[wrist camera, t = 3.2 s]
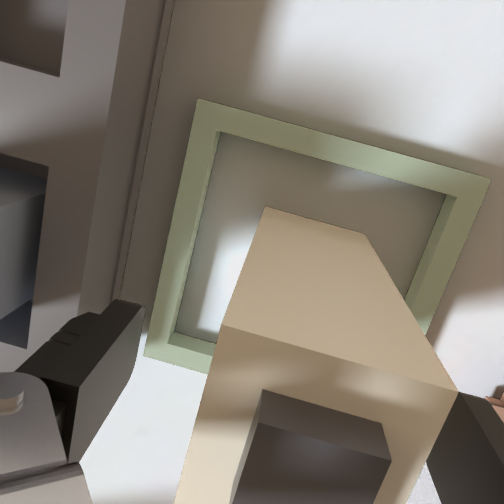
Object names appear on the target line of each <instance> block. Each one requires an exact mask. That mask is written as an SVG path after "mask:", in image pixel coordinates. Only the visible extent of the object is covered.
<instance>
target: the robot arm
mask: <svg viewBox="0 0 504 504" xmlns="http://www.w3.org/2000/svg"><path fill="white" fill-rule="evenodd" d="M144 315H145V307H144V306H142V305H138V304H134V303H131V302H127V301H123V300H119V299H115V300H113V301H112V303H111V304H110V305H109V306H108V307H107V308H106V309H105V310H104V311H103V312H102V313H101V314H96V313H92V312H87V313H84V314H82V315H79V316H77V317H74V318H72V319H70V320H69V321H68V322H67V323H66V324H65V325H64V326H63V327H62V328H60V329H59V332H56V333H55V334H54V335H53V336H52V337H51V338H50V339H49V341H46V342H45V343H44V344H43V345H42V346H41V347H40V348H39V349H38V350H37V351H36V352H35V353H34V354H33V355H31V356H30V357H29V358H28V359H27V360H26V361H25V362H24V363H23V364H22V365H21V366H20V367H19V368H17V369H16V370H15V371H14V372H2V373H0V504H92V500H91V497H90V493H89V490H88V486H87V483H86V480H85V476H84V473H83V470H82V468H81V465H80V464H79V461H80V460H81V458H82V456H83V455H84V453H85V452H86V450H87V448H88V447H89V445H90V443H91V442H92V440H93V438H94V437H95V435H96V434H97V432H98V430H99V429H100V427H101V425H102V424H103V422H104V420H105V419H106V417H107V416H108V414H109V412H110V411H111V409H112V407H113V406H114V404H115V403H116V401H117V399H118V398H119V396H120V394H121V393H122V391H123V389H124V388H125V386H126V385H127V383H128V381H129V379H130V376H131V374H132V371H133V368H134V365H135V361H136V357H137V352H138V346H139V341H140V336H141V331H142V326H143V320H144ZM426 463H427V466H428V469H429V472H430V474H431V477H432V480H433V482H434V485H435V488H436V490H437V493H438V496H439V498H440V501H441V503H442V504H504V423H503V421H502V420H501V418H500V417H499V415H498V414H497V412H496V411H495V409H494V408H493V407H492V405H491V404H490V402H489V401H488V400H487V399H484V398H480V397H476V396H473V395H469V394H465V393H462V392H459V393H458V395H457V397H456V399H455V401H454V403H453V405H452V408H451V410H450V412H449V414H448V416H447V418H446V420H445V422H444V424H443V426H442V429H441V431H440V433H439V435H438V437H437V439H436V441H435V443H434V445H433V447H432V450H431V452H430V454H429V456H428V458H427V460H426Z"/></svg>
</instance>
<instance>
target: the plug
mask: <svg viewBox="0 0 504 504" xmlns="http://www.w3.org/2000/svg"><path fill="white" fill-rule="evenodd" d="M458 393H459V391H458V390H457V388H456V386H455V385H454V383H453V381H452V380H451V378H450V376H449V375H448V373H447V371H446V370H445V368H444V366H443V365H442V363H441V361H440V359H439V358H438V356H437V354H436V353H435V351H434V349H433V348H432V346H431V344H430V343H429V341H428V339H427V338H426V336H425V334H424V333H423V331H422V329H421V328H420V326H419V324H418V323H417V321H416V319H415V318H414V316H413V314H412V312H411V311H410V309H409V307H408V306H407V304H406V302H405V301H404V299H403V297H402V296H401V294H400V292H399V291H398V289H397V287H396V286H395V284H394V282H393V281H392V279H391V277H390V276H389V274H388V272H387V271H386V269H385V267H384V265H383V264H382V262H381V260H380V259H379V257H378V255H377V254H376V252H375V250H374V249H373V247H372V245H371V244H370V242H369V240H368V239H367V237H366V235H365V234H362V233H358V232H355V231H351V230H348V229H344V228H341V227H337V226H333V225H330V224H326V223H323V222H319V221H316V220H312V219H308V218H305V217H301V216H298V215H294V214H291V213H287V212H283V211H280V210H276V209H273V208H269V207H266V206H265V208H264V211H263V214H262V216H261V219H260V222H259V224H258V227H257V230H256V233H255V235H254V238H253V241H252V243H251V246H250V249H249V251H248V254H247V257H246V259H245V262H244V265H243V267H242V270H241V273H240V276H239V278H238V281H237V284H236V286H235V289H234V292H233V294H232V297H231V300H230V302H229V305H228V308H227V310H226V313H225V316H224V319H223V321H222V324H221V327H220V331H219V335H218V339H217V342H216V346H215V350H214V354H213V357H212V361H211V365H210V369H209V372H208V376H207V380H206V384H205V387H204V391H203V395H202V399H201V402H200V406H199V410H198V413H197V417H196V421H195V425H194V428H193V432H192V436H191V440H190V443H189V447H188V451H187V455H186V458H185V462H184V466H183V470H182V473H181V477H180V481H179V485H178V488H177V492H176V496H175V499H174V503H173V504H406V502H407V500H408V498H409V496H410V494H411V492H412V490H413V487H414V485H415V483H416V481H417V479H418V477H419V475H420V473H421V471H422V468H423V466H424V464H425V462H426V460H427V458H428V456H429V454H430V452H431V450H432V447H433V445H434V443H435V441H436V439H437V437H438V435H439V433H440V431H441V429H442V426H443V424H444V422H445V420H446V418H447V416H448V414H449V412H450V410H451V408H452V405H453V403H454V401H455V399H456V397H457V395H458Z"/></svg>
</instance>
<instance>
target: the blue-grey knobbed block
mask: <svg viewBox="0 0 504 504" xmlns="http://www.w3.org/2000/svg"><path fill="white" fill-rule="evenodd" d="M46 186H47V179H43V178H40V177H36V176H32V175H29V174H25V173H22V172H18V171H15V170H11V169H7V168H4V167H0V319H2V318H3V317H5V316H6V315H8V314H9V313H11V312H12V311H14V310H15V309H17V308H18V307H20V306H21V305H23V304H24V303H26V302H27V301H29V300H30V299H32V298H33V295H34V287H35V278H36V270H37V262H38V253H39V245H40V237H41V228H42V220H43V211H44V203H45V195H46Z"/></svg>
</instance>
